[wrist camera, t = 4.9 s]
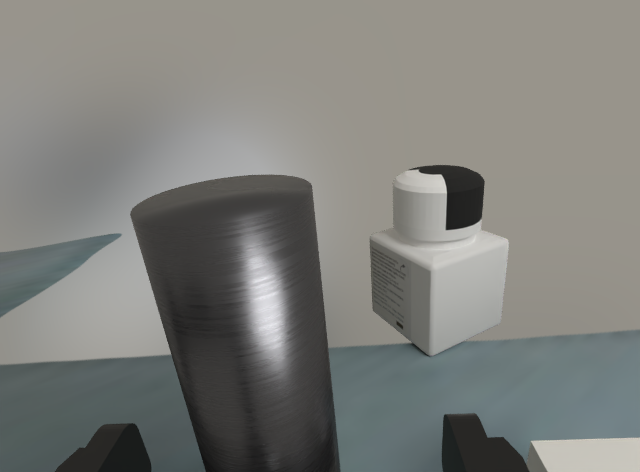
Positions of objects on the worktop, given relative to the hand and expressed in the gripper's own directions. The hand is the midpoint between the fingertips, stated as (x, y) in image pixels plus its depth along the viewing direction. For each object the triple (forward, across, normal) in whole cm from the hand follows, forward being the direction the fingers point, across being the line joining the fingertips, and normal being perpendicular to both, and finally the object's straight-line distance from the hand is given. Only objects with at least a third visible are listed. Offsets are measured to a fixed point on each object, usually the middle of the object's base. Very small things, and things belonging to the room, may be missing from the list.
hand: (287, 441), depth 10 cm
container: (+21, -9, +11) cm, 25 cm away
